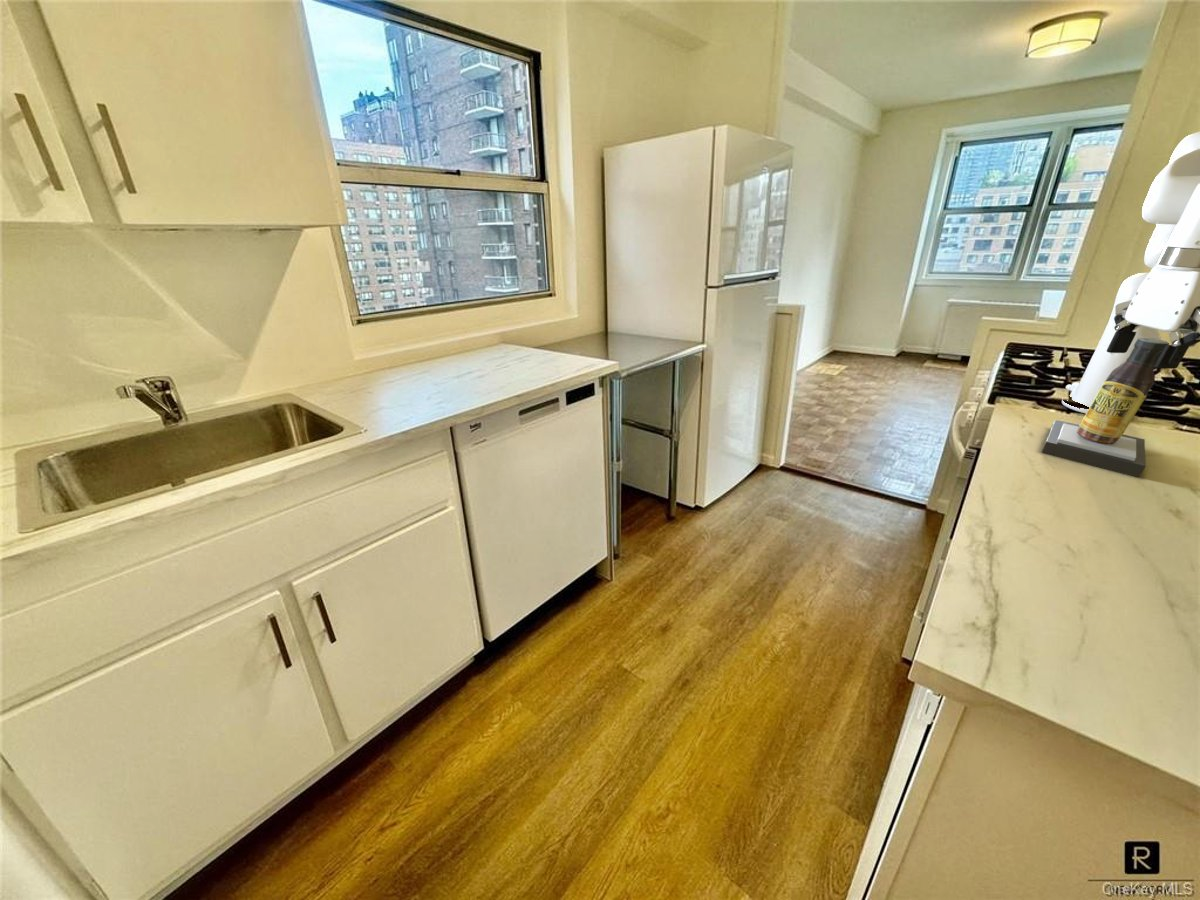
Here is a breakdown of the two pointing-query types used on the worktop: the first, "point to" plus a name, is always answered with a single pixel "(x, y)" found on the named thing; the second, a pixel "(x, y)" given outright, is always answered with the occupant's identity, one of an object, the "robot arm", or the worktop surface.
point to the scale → (1096, 449)
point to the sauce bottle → (1122, 393)
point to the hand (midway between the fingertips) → (1139, 359)
